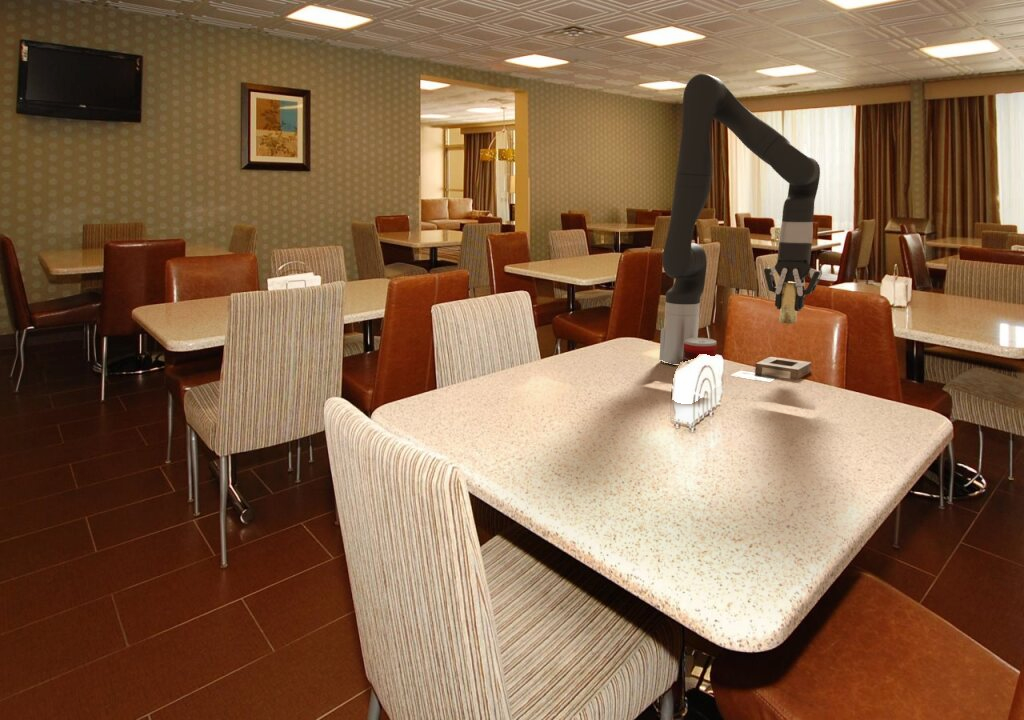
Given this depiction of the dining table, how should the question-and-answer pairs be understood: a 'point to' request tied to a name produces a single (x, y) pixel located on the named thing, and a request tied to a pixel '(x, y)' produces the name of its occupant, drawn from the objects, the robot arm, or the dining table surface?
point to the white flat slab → (754, 376)
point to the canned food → (698, 347)
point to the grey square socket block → (783, 368)
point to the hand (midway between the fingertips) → (788, 309)
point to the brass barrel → (788, 303)
